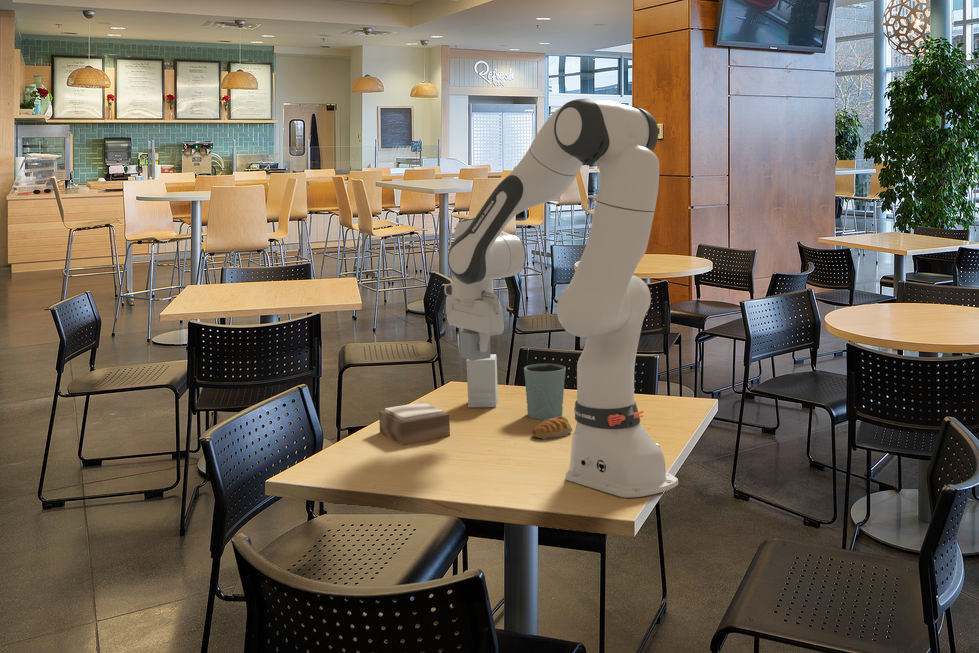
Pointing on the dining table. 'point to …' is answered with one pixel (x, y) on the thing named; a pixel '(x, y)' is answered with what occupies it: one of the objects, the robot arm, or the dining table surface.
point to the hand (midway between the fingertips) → (475, 349)
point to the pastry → (552, 428)
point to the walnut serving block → (414, 423)
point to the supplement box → (482, 382)
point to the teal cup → (544, 390)
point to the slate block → (472, 346)
